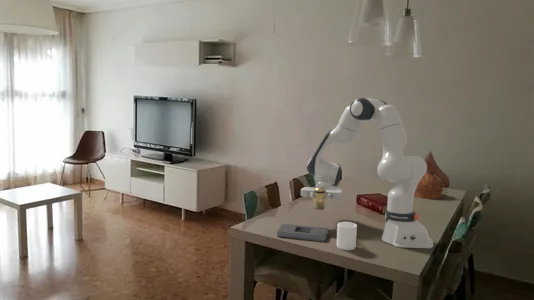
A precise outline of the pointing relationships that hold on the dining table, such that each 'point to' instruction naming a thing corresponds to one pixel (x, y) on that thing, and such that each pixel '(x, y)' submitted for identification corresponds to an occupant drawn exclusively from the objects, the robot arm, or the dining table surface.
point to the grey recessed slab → (302, 232)
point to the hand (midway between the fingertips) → (319, 197)
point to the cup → (346, 235)
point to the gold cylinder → (319, 198)
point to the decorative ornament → (432, 181)
